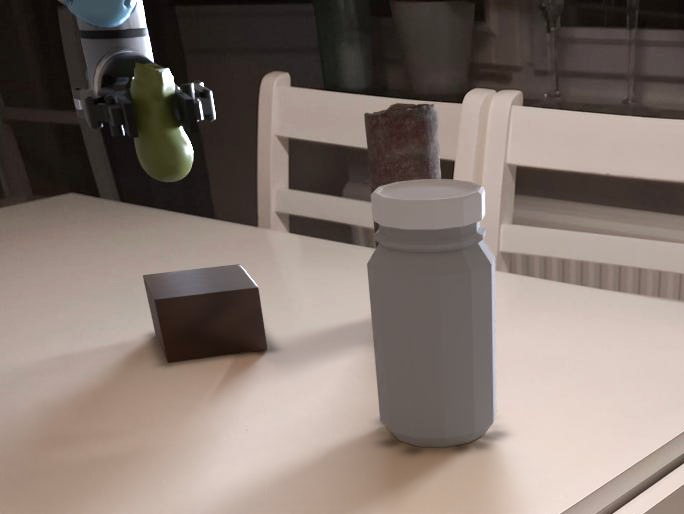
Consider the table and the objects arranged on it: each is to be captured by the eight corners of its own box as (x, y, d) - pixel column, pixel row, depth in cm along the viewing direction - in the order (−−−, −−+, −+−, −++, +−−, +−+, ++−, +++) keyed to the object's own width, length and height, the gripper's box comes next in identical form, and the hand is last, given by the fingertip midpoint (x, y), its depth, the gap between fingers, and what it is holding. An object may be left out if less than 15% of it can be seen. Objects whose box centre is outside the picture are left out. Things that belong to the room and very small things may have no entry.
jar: (410, 401, 89) (395, 174, 78) (513, 414, 86) (513, 179, 75) (361, 442, 82) (337, 198, 71) (471, 458, 79) (464, 206, 68)
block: (167, 363, 99) (154, 299, 95) (155, 335, 106) (142, 274, 103) (267, 349, 102) (258, 287, 98) (249, 322, 109) (239, 263, 105)
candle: (403, 332, 105) (388, 110, 93) (367, 316, 110) (348, 103, 98) (462, 318, 109) (455, 102, 96) (425, 303, 113) (414, 95, 101)
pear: (151, 176, 102) (129, 59, 96) (203, 176, 102) (184, 58, 96) (136, 187, 98) (111, 65, 92) (189, 186, 98) (168, 64, 92)
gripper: (221, 126, 115) (264, 156, 97) (58, 138, 110) (72, 172, 92) (209, 47, 110) (251, 64, 93) (37, 56, 105) (49, 76, 88)
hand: (162, 118), depth 93 cm, fingers closed on pear, 5 cm apart
